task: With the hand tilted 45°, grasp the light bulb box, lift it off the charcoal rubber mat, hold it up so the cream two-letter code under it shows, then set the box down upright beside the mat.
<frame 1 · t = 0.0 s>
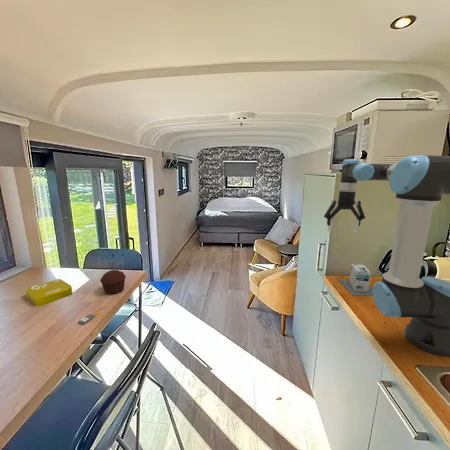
hand: (342, 231, 135), 28 cm above the counter, tool pointing down, fingers open, 13 cm apart
light bulb box: (358, 287, 134), resting on code mat
code mat: (358, 287, 134), on the counter
muffin: (114, 290, 127), on the counter
key chain: (94, 316, 106), on the counter
element tile: (50, 296, 121), on the counter
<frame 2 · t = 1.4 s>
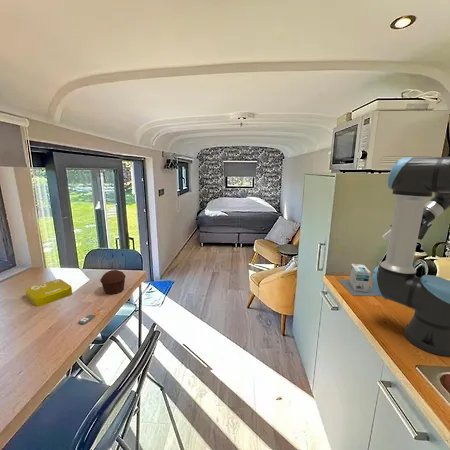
hand: (392, 242, 126), 25 cm above the counter, tool tilted 45°, fingers open, 13 cm apart
nothing on the counter moved.
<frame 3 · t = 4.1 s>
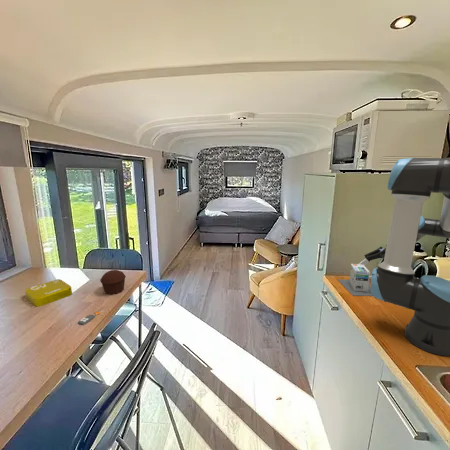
hand: (364, 273, 133), 8 cm above the counter, tool tilted 45°, fingers open, 13 cm apart
light bulb box: (358, 287, 134), resting on code mat, touching gripper
everything else where it was.
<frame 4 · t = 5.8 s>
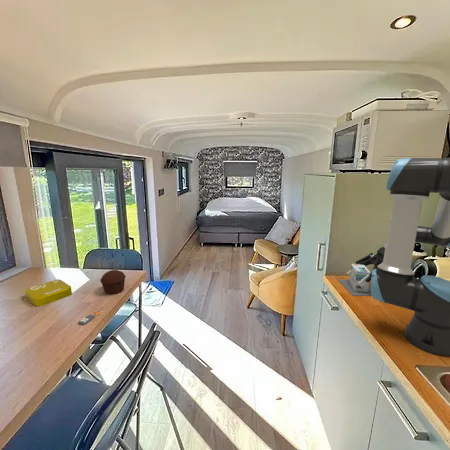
hand: (354, 279, 133), 4 cm above the counter, tool tilted 45°, fingers closed on light bulb box, 11 cm apart
light bulb box: (358, 287, 134), resting on code mat, touching gripper
everything else where it was.
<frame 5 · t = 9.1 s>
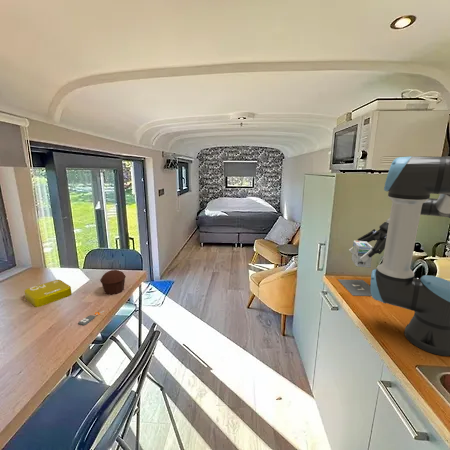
hand: (356, 255, 130), 17 cm above the counter, tool tilted 45°, fingers closed on light bulb box, 11 cm apart
light bulb box: (360, 264, 131), point 13 cm above the counter, touching gripper
everything else where it was.
when the fingers open (6 cm above the counter, at t = 12.7 s): light bulb box drops 2 cm, on the counter.
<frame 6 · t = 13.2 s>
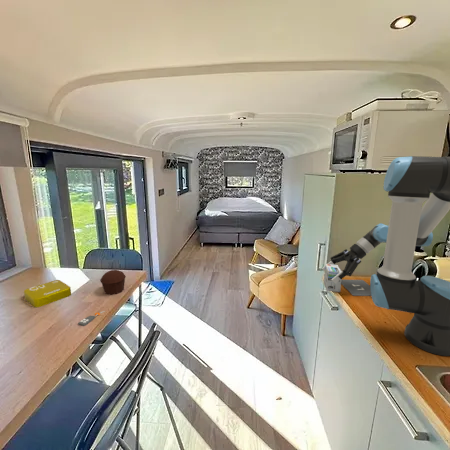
hand: (328, 275, 133), 6 cm above the counter, tool tilted 45°, fingers open, 13 cm apart
light bulb box: (331, 287, 134), on the counter
everything else where it was.
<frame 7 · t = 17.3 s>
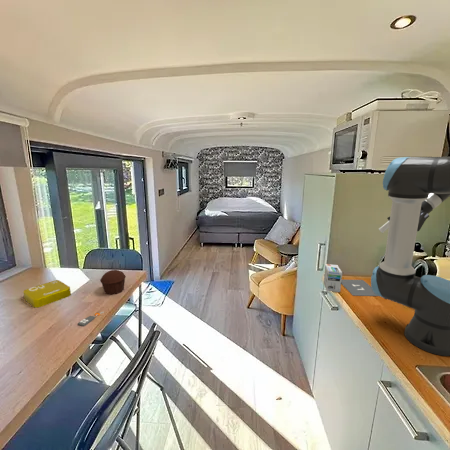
hand: (388, 234, 123), 30 cm above the counter, tool tilted 45°, fingers open, 13 cm apart
at the end: light bulb box inside the target area (0.0 cm from its centre), on the counter; light bulb box tilted 0°; light bulb box touching counter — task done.
